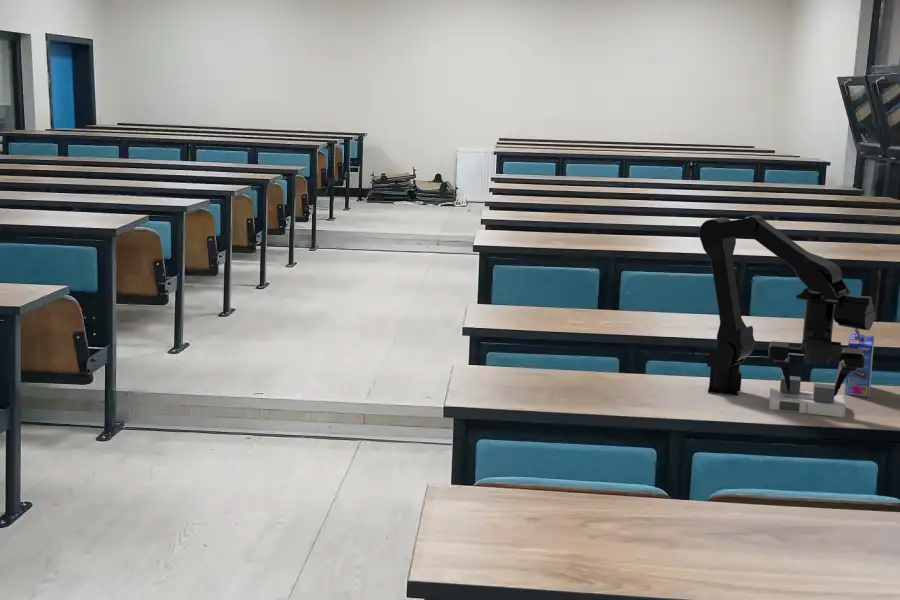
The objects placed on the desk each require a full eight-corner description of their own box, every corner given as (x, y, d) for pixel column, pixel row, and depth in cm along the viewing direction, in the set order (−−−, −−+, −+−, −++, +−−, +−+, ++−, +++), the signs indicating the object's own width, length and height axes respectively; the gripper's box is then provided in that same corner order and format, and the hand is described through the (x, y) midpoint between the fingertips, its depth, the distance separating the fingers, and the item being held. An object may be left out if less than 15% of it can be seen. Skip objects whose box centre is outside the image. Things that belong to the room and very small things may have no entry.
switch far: (779, 392, 206) (781, 378, 206) (779, 388, 209) (781, 375, 209) (799, 394, 205) (800, 380, 205) (799, 390, 208) (800, 376, 207)
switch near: (813, 400, 201) (814, 386, 200) (812, 396, 204) (814, 383, 203) (833, 402, 200) (835, 389, 199) (832, 398, 202) (834, 385, 202)
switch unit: (769, 409, 203) (770, 398, 203) (769, 398, 211) (770, 387, 210) (844, 418, 199) (845, 406, 198) (841, 406, 206) (843, 394, 206)
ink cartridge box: (844, 383, 224) (851, 323, 221) (870, 386, 221) (877, 325, 218) (842, 394, 215) (849, 332, 212) (869, 397, 213) (876, 335, 210)
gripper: (771, 326, 194) (765, 399, 198) (870, 335, 189) (862, 409, 192) (771, 315, 205) (765, 384, 208) (865, 322, 199) (857, 394, 202)
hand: (811, 393), depth 202 cm, fingers open, 9 cm apart
